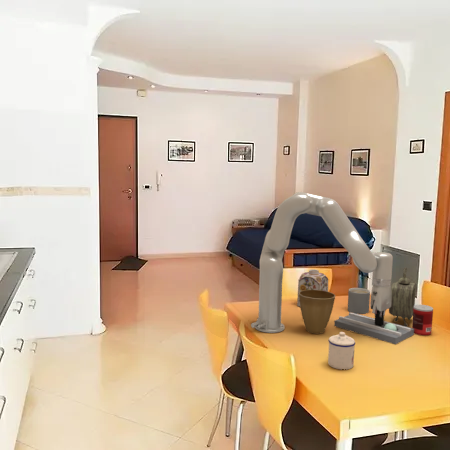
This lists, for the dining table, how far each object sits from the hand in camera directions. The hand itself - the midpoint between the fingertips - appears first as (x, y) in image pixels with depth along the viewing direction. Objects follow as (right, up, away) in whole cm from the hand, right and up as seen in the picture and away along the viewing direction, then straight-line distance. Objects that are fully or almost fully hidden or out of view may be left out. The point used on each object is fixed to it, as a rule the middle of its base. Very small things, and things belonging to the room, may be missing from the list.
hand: (379, 324), depth 199 cm
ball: (+3, -1, -4) cm, 5 cm away
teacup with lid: (-24, -7, -32) cm, 41 cm away
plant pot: (-27, -3, 0) cm, 27 cm away
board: (-2, -3, +2) cm, 4 cm away
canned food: (+18, -4, 0) cm, 18 cm away
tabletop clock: (+14, -2, +13) cm, 19 cm away
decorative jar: (-21, +2, +37) cm, 42 cm away
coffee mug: (-1, +1, +31) cm, 31 cm away
